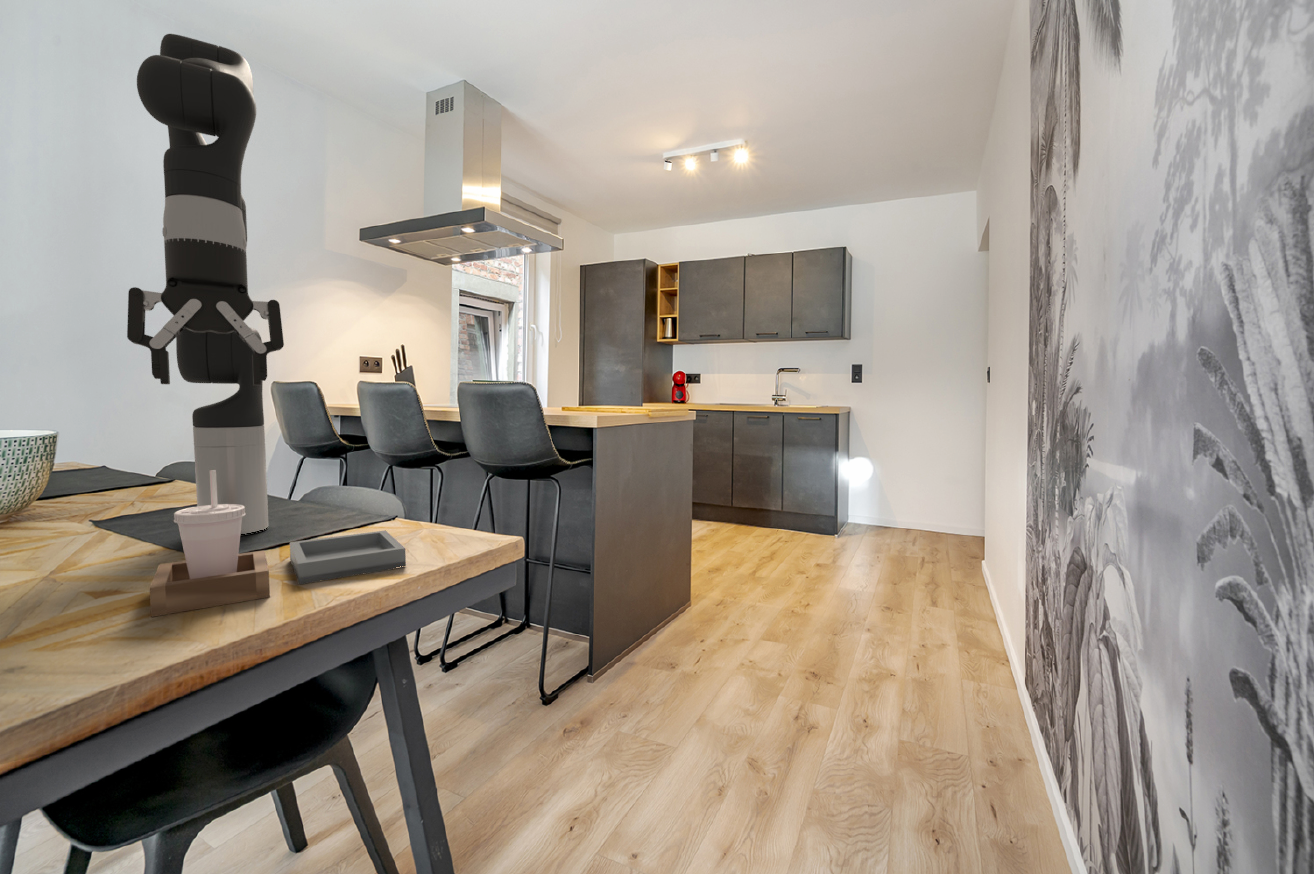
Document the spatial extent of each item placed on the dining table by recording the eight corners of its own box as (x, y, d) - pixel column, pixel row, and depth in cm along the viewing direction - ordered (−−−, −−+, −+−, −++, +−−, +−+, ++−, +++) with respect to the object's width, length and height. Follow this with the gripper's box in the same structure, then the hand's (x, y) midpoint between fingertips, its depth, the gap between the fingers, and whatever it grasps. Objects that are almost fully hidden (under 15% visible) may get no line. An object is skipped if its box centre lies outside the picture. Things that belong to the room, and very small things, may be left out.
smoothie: (262, 584, 68) (257, 468, 67) (215, 604, 61) (209, 475, 60) (213, 582, 68) (207, 466, 67) (161, 602, 62) (154, 474, 61)
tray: (290, 560, 78) (289, 542, 78) (385, 546, 85) (385, 530, 85) (298, 584, 68) (298, 563, 68) (405, 566, 75) (405, 548, 75)
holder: (160, 589, 66) (159, 563, 66) (265, 573, 72) (264, 550, 72) (151, 616, 58) (149, 588, 58) (269, 596, 64) (268, 570, 64)
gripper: (277, 261, 74) (282, 387, 75) (128, 242, 65) (135, 384, 66) (282, 247, 68) (287, 384, 69) (118, 225, 59) (126, 382, 60)
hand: (212, 384), depth 67 cm, fingers open, 8 cm apart
